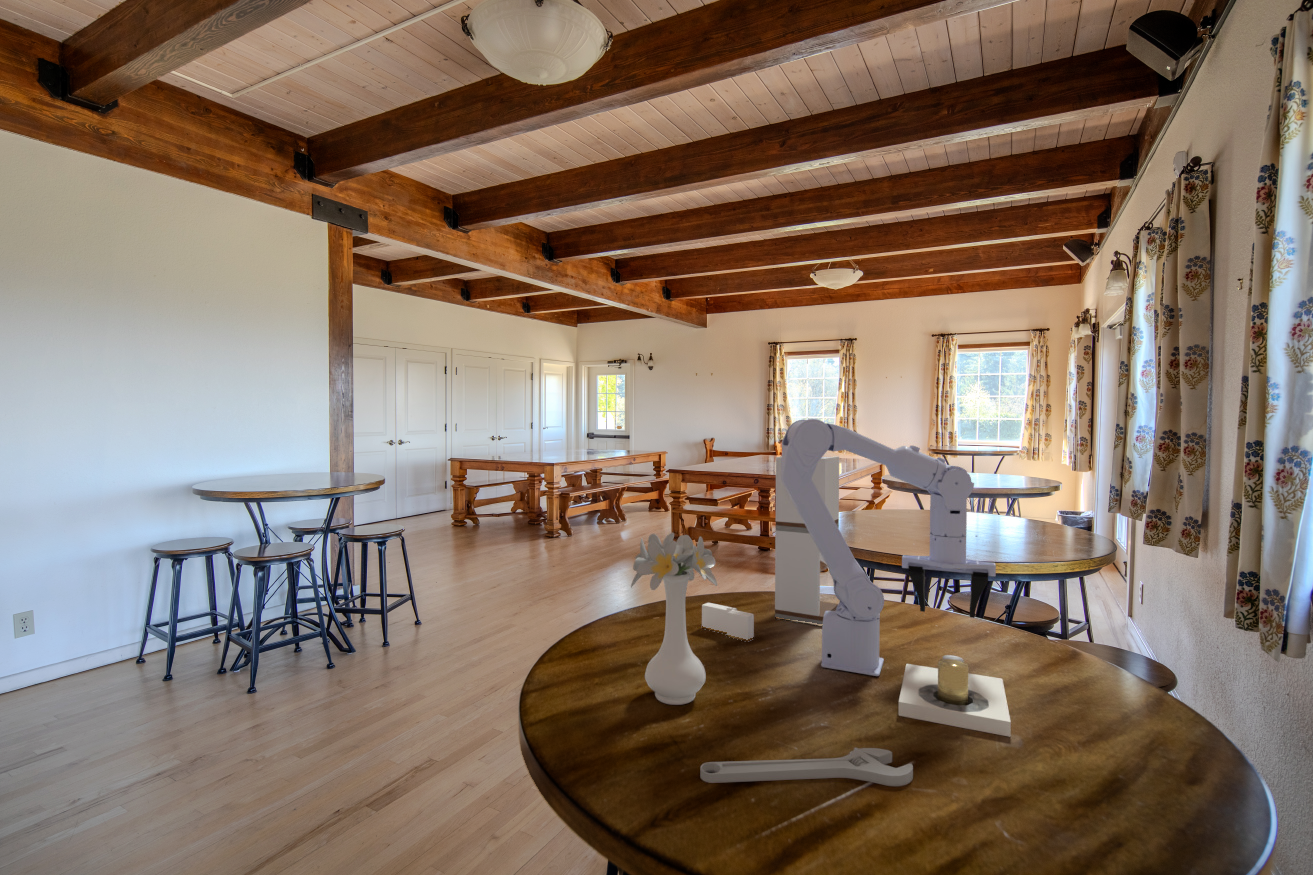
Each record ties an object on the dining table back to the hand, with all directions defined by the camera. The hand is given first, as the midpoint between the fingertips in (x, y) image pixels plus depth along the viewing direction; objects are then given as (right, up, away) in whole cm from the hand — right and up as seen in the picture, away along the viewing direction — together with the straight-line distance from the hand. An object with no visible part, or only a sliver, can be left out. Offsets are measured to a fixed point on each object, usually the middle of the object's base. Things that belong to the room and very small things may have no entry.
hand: (947, 612), depth 107 cm
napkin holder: (-36, -10, +17) cm, 41 cm away
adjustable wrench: (-32, -10, -32) cm, 47 cm away
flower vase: (-48, -10, -11) cm, 50 cm away
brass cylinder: (-7, -10, -17) cm, 21 cm away
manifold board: (-6, -10, -14) cm, 18 cm away
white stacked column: (-17, -9, +29) cm, 35 cm away
